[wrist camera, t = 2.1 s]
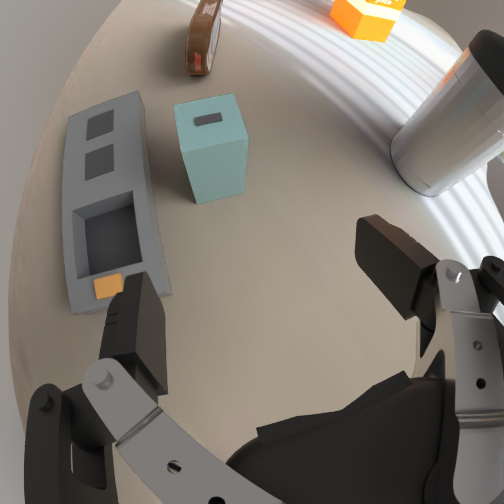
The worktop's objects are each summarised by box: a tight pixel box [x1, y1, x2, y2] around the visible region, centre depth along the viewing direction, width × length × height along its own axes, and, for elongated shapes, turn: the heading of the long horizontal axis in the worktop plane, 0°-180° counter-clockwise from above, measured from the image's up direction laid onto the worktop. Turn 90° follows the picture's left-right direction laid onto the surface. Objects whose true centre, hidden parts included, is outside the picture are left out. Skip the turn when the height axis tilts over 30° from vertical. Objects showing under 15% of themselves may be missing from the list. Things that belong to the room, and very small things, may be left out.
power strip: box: [62, 91, 173, 314], centre depth 23 cm, size 22×9×4 cm, turn 15°
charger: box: [173, 93, 249, 204], centre depth 22 cm, size 4×4×9 cm
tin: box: [185, 0, 223, 75], centre depth 26 cm, size 15×3×8 cm, turn 178°
